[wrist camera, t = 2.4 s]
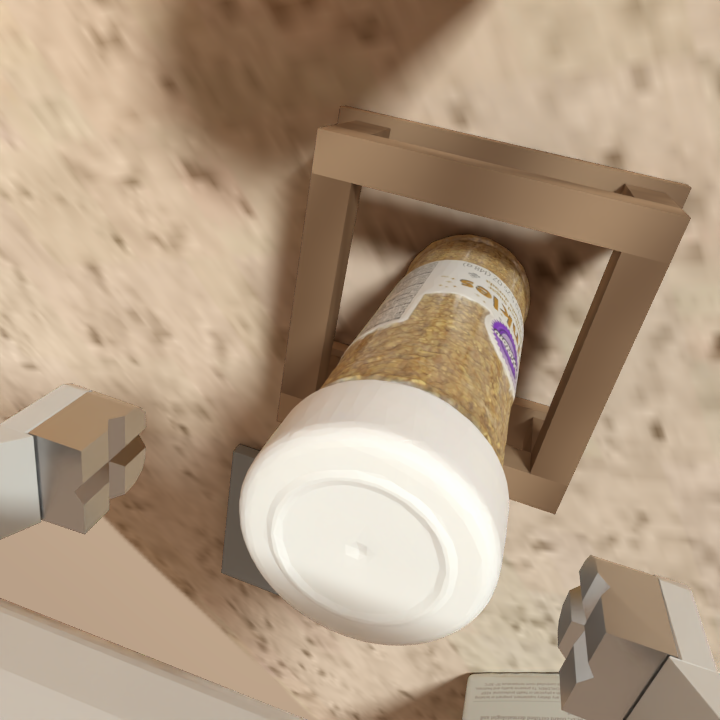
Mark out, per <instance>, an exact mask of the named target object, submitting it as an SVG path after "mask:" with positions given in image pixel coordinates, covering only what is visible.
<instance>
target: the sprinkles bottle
mask: <svg viewBox="0 0 720 720" xmlns="http://www.w3.org/2000/svg"><path fill="white" fill-rule="evenodd" d="M529 306H530V291H529V281H528V279H527V276H526V274H525V271H524V268H523V266H522V265H521V264H520V263H519V262H518V260H517V259H516V258H515V256H514V255H513V254H512V253H511V252H510V251H509V250H507V249H506V248H504V247H503V246H501V245H500V244H498V243H496V242H494V241H492V240H491V239H489V238H485V237H480V236H476V235H469V234H468V235H455V236H450V237H446V238H443V239H441V240H437V241H435V242H432V243H431V244H430V245H429V246H428V247H427V248H425V249H424V250H423V251H421V252H420V253H419V254H418V255H417V256H416V257H415V259H414V260H413V261H412V263H411V264H410V266H409V268H408V270H407V273H406V275H405V277H404V278H402V279H401V280H400V281H399V282H398V283H397V285H396V286H395V287H394V288H393V290H392V291H391V292H390V294H389V295H388V296H387V298H386V299H385V300H384V302H383V303H382V304H381V306H380V307H379V309H378V310H377V311H376V313H375V314H374V315H373V316H372V318H371V319H370V320H369V322H368V323H367V324H366V325H365V327H364V328H363V329H362V331H361V332H360V333H359V334H358V336H357V337H356V338H355V340H354V341H353V342H352V343H351V345H350V346H349V347H348V349H347V350H346V351H345V353H344V354H343V356H342V357H341V359H340V361H339V363H338V365H337V367H336V368H335V369H334V370H333V372H332V373H331V375H330V376H329V377H328V379H327V380H326V381H325V383H324V384H323V386H322V387H321V388H320V389H319V390H318V391H316V392H314V393H312V394H311V395H309V396H308V397H306V398H305V399H304V400H302V401H301V402H300V403H299V404H298V405H296V406H295V407H294V408H293V409H292V410H291V412H290V413H289V414H288V415H287V417H286V418H285V419H284V420H283V422H282V423H281V424H280V426H279V427H278V428H277V429H276V430H275V432H274V433H273V434H272V435H271V437H270V438H269V440H268V441H267V442H266V444H265V445H264V447H263V448H262V449H261V451H260V452H259V454H258V455H257V456H256V458H255V459H254V461H253V463H252V464H251V466H250V468H249V469H248V471H247V474H246V476H245V479H244V482H243V484H242V488H241V494H240V500H239V514H240V527H241V531H242V535H243V539H244V541H245V544H246V546H247V549H248V551H249V553H250V556H251V558H252V560H253V561H254V563H255V565H256V567H257V569H258V570H259V571H260V573H261V574H262V576H263V577H264V579H265V580H266V581H267V582H268V583H269V585H270V586H271V587H272V588H273V589H274V590H275V591H276V592H277V593H278V594H279V595H280V596H281V597H282V598H283V599H284V600H285V601H286V602H287V603H288V604H290V605H291V606H292V607H293V608H295V609H296V610H297V611H299V612H300V613H302V614H303V615H304V616H306V617H308V618H309V619H311V620H313V621H314V622H316V623H318V624H320V625H322V626H323V627H325V628H327V629H329V630H332V631H334V632H337V633H339V634H342V635H344V636H347V637H351V638H354V639H357V640H361V641H364V642H369V643H375V644H383V645H415V644H422V643H427V642H431V641H435V640H438V639H441V638H443V637H446V636H449V635H451V634H453V633H455V632H457V631H459V630H460V629H462V628H463V627H465V626H466V625H468V624H469V623H470V622H471V621H472V620H474V619H475V618H476V617H477V616H478V615H479V614H480V613H481V611H482V610H483V609H484V608H485V606H486V605H487V604H488V603H489V601H490V599H491V597H492V595H493V593H494V591H495V588H496V585H497V582H498V579H499V575H500V571H501V566H502V560H503V553H504V546H505V540H506V532H507V523H508V513H509V493H508V486H507V481H506V477H505V474H504V471H503V462H504V455H505V445H506V440H507V432H508V422H509V415H510V410H511V406H512V404H513V402H514V398H515V393H516V385H517V379H518V372H519V365H520V358H521V351H522V344H523V335H524V328H523V324H524V323H525V320H526V318H527V315H528V310H529Z"/></svg>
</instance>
